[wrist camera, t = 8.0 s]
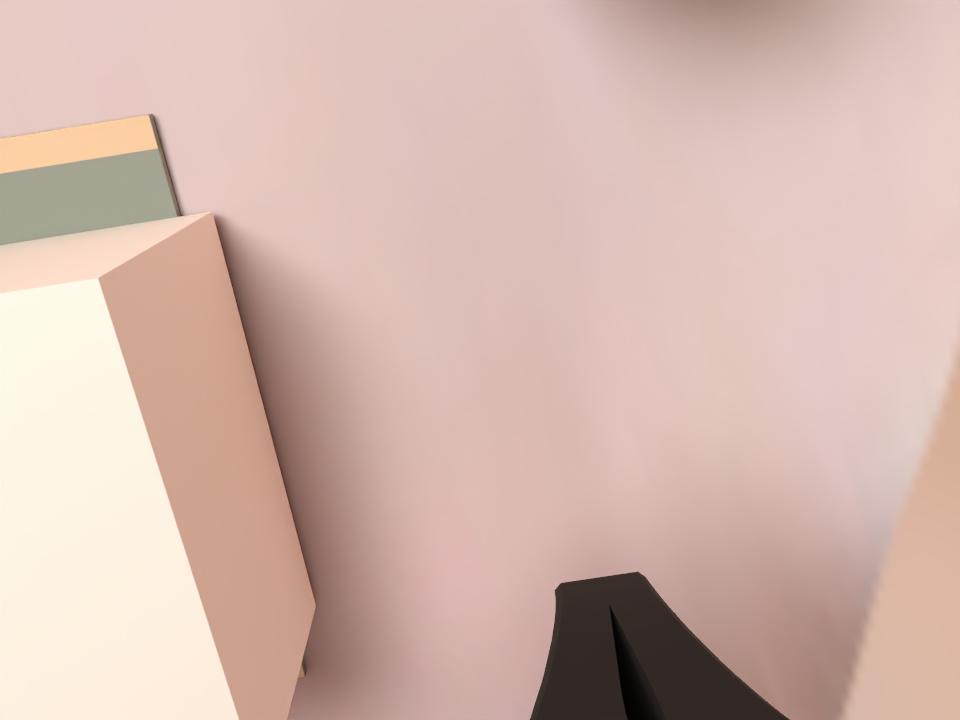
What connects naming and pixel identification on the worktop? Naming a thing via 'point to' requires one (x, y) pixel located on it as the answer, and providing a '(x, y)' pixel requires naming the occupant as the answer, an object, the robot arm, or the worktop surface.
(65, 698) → the milk carton
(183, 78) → the worktop surface
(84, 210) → the display mat
